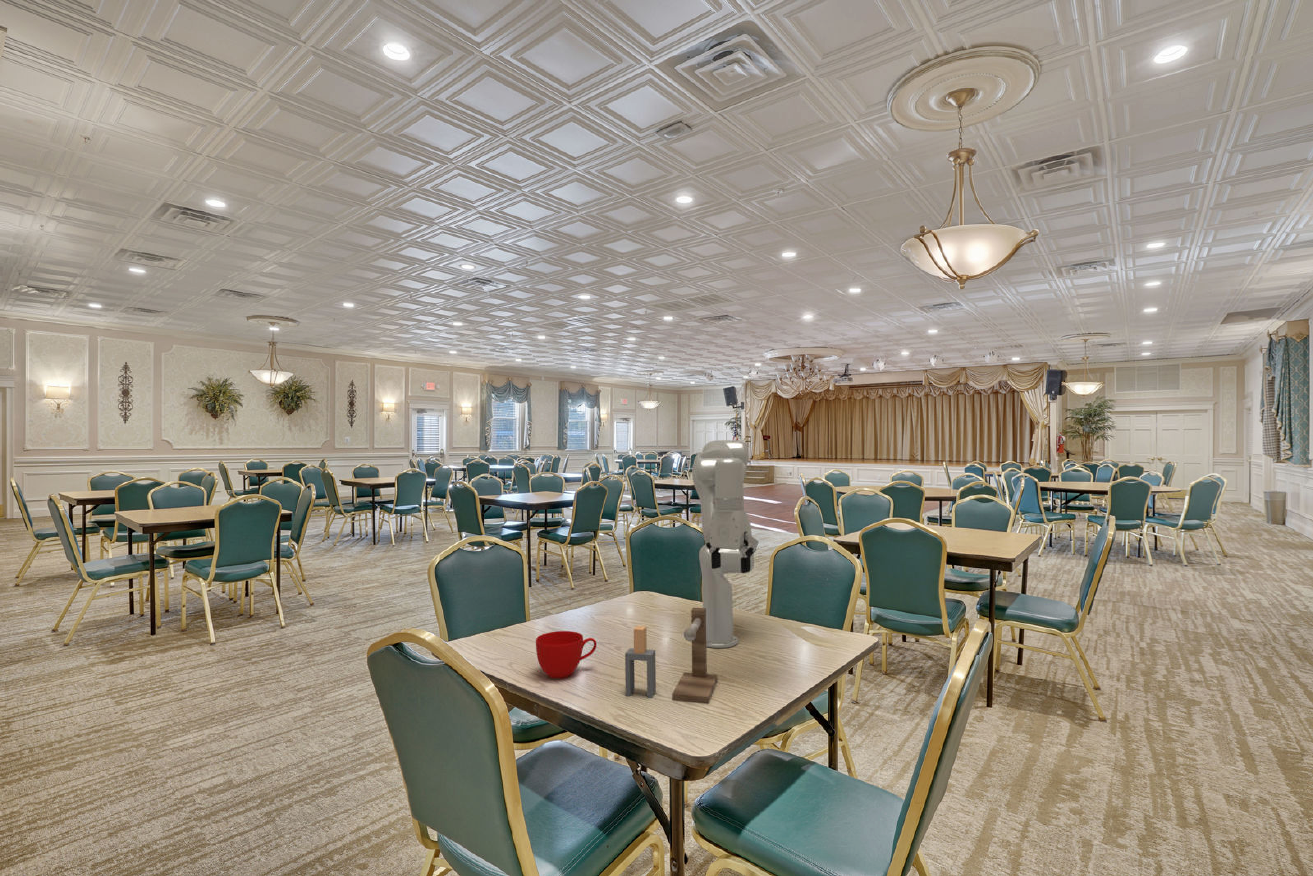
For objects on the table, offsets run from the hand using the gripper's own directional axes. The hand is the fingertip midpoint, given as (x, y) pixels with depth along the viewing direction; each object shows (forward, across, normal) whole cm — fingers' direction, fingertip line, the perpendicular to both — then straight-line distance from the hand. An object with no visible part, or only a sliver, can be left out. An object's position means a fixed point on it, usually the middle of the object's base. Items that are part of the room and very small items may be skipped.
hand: (730, 570), depth 155 cm
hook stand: (+30, -5, -9) cm, 31 cm away
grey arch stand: (+30, -13, -21) cm, 39 cm away
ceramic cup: (+30, -38, -25) cm, 55 cm away
